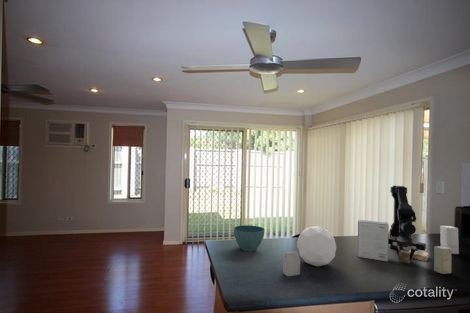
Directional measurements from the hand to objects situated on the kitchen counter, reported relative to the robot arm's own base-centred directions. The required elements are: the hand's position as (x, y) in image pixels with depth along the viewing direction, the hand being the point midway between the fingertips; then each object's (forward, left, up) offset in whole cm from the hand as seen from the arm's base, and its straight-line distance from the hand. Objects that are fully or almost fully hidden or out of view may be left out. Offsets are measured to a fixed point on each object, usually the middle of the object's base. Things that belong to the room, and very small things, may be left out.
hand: (404, 259), depth 152 cm
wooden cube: (0, 0, -1) cm, 1 cm away
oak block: (+4, +14, -2) cm, 15 cm away
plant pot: (-71, -48, -1) cm, 86 cm away
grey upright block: (-34, -62, -1) cm, 71 cm away
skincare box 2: (+17, -4, -1) cm, 18 cm away
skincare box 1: (+16, +42, -1) cm, 45 cm away
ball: (-32, -41, -1) cm, 52 cm away
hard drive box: (-15, -7, -1) cm, 16 cm away
